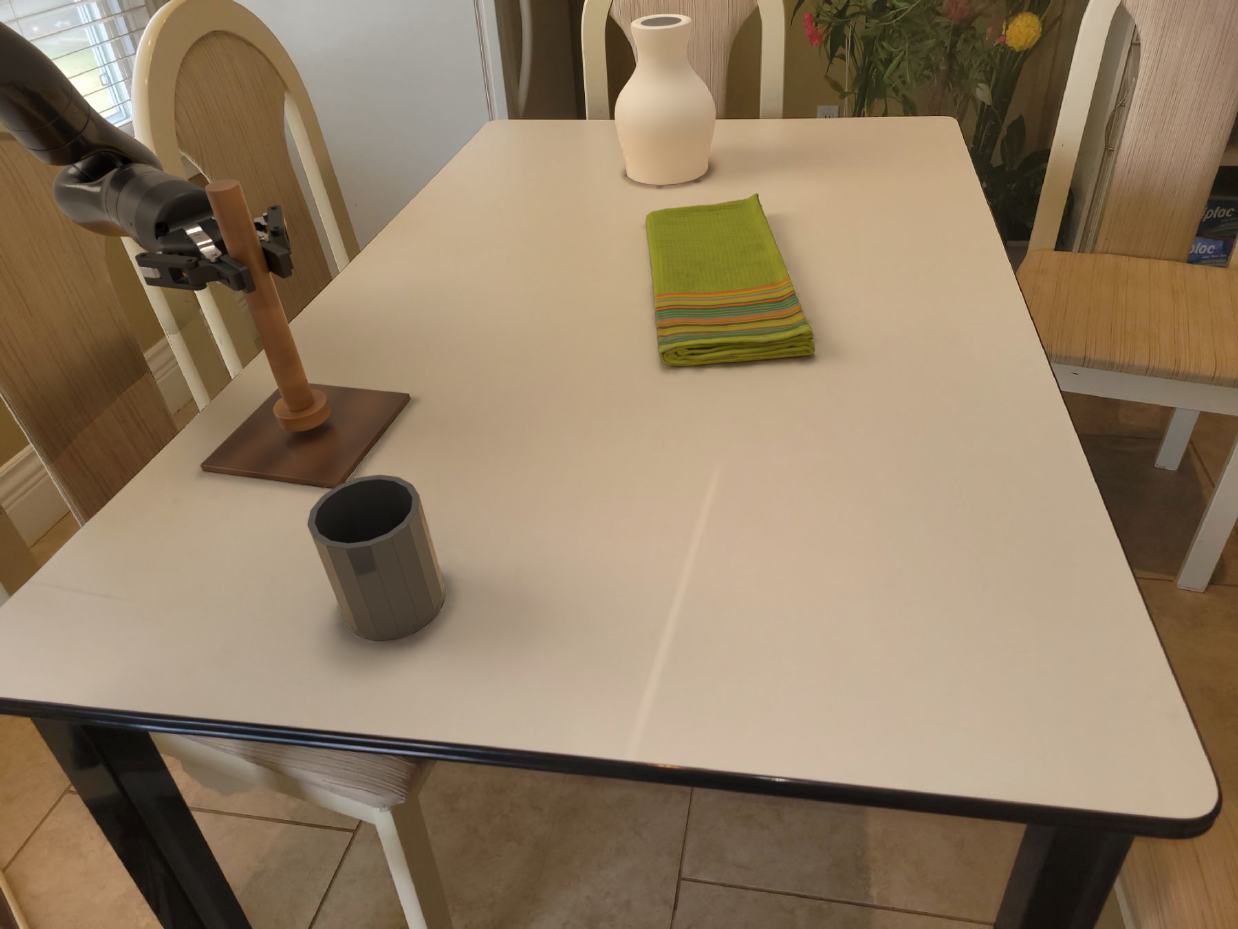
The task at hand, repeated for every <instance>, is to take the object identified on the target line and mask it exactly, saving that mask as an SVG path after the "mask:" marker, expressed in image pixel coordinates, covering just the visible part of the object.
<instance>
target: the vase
mask: <svg viewBox="0 0 1238 929" xmlns="http://www.w3.org/2000/svg"><path fill="white" fill-rule="evenodd" d="M692 29H693V21H692V18H691V17H690V16H687V15H684V14H678V13H660V14H650V15H645V16H642V17H639V18H636V19H634V20H633V21H632V22H630V31H631V35H632V38H633V41H634V43H635V44H634V45H635V47H636V50H637V62H636V65H635V69H634V71H633V73H632V74H631V76H630V78H629V79H628V81H627V82H626V84H625V85H624V86H623V88H622V89H621V90H620V93H619V94H618V97H617V99H616V102H615V106H614V123H615V129H616V134H617V137H618V141H619V145H620V148H621V151H622V155H623V158H624V163H625V172H626V176H627V177H628V178H629V179H631V180H633V181H634V182H638V183H641V184H644V185H655V186H668V185H677V184H683V183H688V182H690V181H695V180H696V179H698V178H700V177H702V176H704V175H705V174H706V172H707V171H708V169H709V158H710V151H711V148H712V142H713V138H714V134H715V128H716V127H715V126H716V120H717V114H716V113H717V111H716V110H717V109H716V104H715V100H714V97H713V95H712V93H711V92H710V90H709V88H708V86H707V84H706V83H705V82H704V81H703V79H702V78H701V77H700V76H699V75H698V74H697V72H695V70H694V68H693V67H692V66H691V64H690V62H689V58H688V46H689V41H690V38H691V34H692Z"/></svg>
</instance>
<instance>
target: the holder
mask: <svg viewBox="0 0 1238 929" xmlns="http://www.w3.org/2000/svg"><path fill="white" fill-rule="evenodd" d="M306 524H307V528H308V531H309V534H310V536H311V538H312V541H313V544H314V546H315V549H316V551H317V554H318V556H319V559H320V561H321V564H322V566H323V569H324V572H325V575H326V576H327V579H328V582H329V584H330V587H331V590H332V592H333V594H334V597H335V599H336V603H337V605H338V607H339V610H340V613H341V615H342V617H343V620H344V622H345V625H346V626H347V627H348V628H349V630H350V631H352V632H353V633H354V634H356V635H357V636H359V637H362V638H364V639H368V640H374V641H387V640H388V641H389V640H396V639H399V638H402V637H406V636H407V635H411V634H413V633H415V632H417V631H419V630H421V629H422V628H423V627H425V626H426V625H427V624H428V623H430V622H431V620H433V619H434V618H435V617H436V615H437V614H438V613H439V611H440V610H441V608H442V606H443V603H444V600H445V595H446V592H445V591H446V590H445V586H444V578H443V574H442V571H441V568H440V565H439V561H438V556H437V553H436V550H435V546H434V542H433V538H432V535H431V531H430V528H429V524H428V521H427V517H426V514H425V510H424V506H423V503H422V500H421V495H420V494H419V493H418V491H417V489H416V488H415V486H414V484H413V483H411V482H409V481H407V480H405V479H403V478H401V477H400V476H393V475H387V474H375V475H367V476H359V477H356V478H353V479H351V480H348V481H346V482H345V481H344V482H343V483H342V484H340V485H338V486H336V487H335V488H331V489H330V490H329V491H327V492H325V493H324V494H323V495H322V496H321V497H319V499H318V500H317V501H316V503H315V504H314V505H313V506H312V508H310V511H309V516H308V520H307V523H306Z"/></svg>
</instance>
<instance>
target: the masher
mask: <svg viewBox="0 0 1238 929" xmlns="http://www.w3.org/2000/svg"><path fill="white" fill-rule="evenodd" d="M204 189H205V191H206V194H207V197H208V199H209V202H210V205H211V208H212V210H213V213H214V216H215V218H216V221H217V224H218V227H219V229H220V232H221V235H222V237H223V240H224V243H225V245H226V248H227V251H228V254H229V256H230V257H232V258H234V259H236V260H237V261H239V262H241V263H243V264H244V265H246V266H247V267H248V269H249V270H250V273H251V276H252V278H253V281H254V284H255V287H256V291H253V292H251V293H248V294H247V293H245V292H243V291H242V294H243V297H244V299H245V302H246V305H247V308H248V310H249V314H250V316H251V318H252V322H253V324H254V326H255V329H256V332H257V334H258V337H259V340H260V342H261V345H262V348H263V351H264V354H265V357H266V359H267V362H268V364H269V367H270V369H271V373H272V375H273V378H274V380H275V383H276V386H277V389H279V391H280V394H281V397H282V398H281V399H279V400H278V401H277V402H276V404H275V405H274V408H273V412H274V415H275V417H276V420H277V423H278V425H279V427H280V428H282V429H283V430H286V431H290V432H300V431H306V430H309V429H312V428H315V427H317V426H319V425H320V424H322V423H323V422H325V421H326V420H327V419H328V417H329V415H330V412H331V410H330V406H329V403H328V400H327V397H326V395H325V394H324V393H323V392H321V391H319V390H315V389H310V386H309V383H310V382H309V381H308V377H307V374H306V372H305V370H304V369H305V368H304V366H303V362H302V360H301V357H300V354H299V351H298V348H297V345H296V343H295V340H294V337H293V333H292V331H291V327H290V325H289V322H288V319H287V316H286V312H285V311H284V307H283V304H282V302H281V301H282V300H281V299H280V296H279V293H278V291H277V290H278V289H277V286H276V284H275V281H274V278H273V275H272V272H271V271H270V269H269V266H268V263H267V261H266V258H265V255H264V252H263V249H262V246H261V243H260V240H259V237H258V234H257V231H256V228H255V226H254V223H253V220H252V218H253V216H252V215H251V211H250V209H249V205H248V203H247V199H246V196H245V193H244V191H243V188H242V185H241V182H240V181H239V180H238V179H237V178H236V179H235V178H224V179H218V180H215V181H213V182H210V183H208V184H206V185H205V186H204ZM251 216H252V217H251Z"/></svg>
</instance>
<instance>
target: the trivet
mask: <svg viewBox="0 0 1238 929" xmlns="http://www.w3.org/2000/svg"><path fill="white" fill-rule="evenodd" d="M308 383H309V386H310V389H315V390H319V391H321V392H323V393H324V394H325V395H326V397H327V400H328V403H329V406H330V410H331V412H330V415H329V417H328V419H327V420H326V421H325V422H323V423H322V424H320V425H319V426H317V427H315V428H312V429H309V430H306V431H300V432H290V431H286V430H283V429H282V428H280V427H279V425H278V423H277V420H276V417H275V415H274V412H273V408H274V405H275V404H276V402H277V401H278V400H279V399H281V398H282V397H281V394H280V391H279V389H278V388H276V389H275V391H273V392H272V393H271V394H270V396H268V397H267V398H266V399H265V400H264V401H263V402H262V403H261V404H260V405H259V406H258V407H257V408H256V409H255V410H254V411H253V412H252V413H251V414H250V415H249V416H248V417H247V418H246V419H245V420H244V421H243V422H242V423H241V424H240V425H239V426H238V427H237V428H236V429H234V431H233V432H232V433H231V434H230V435H229V436H228V437H226V438H225V440H223V442H221V444H220V445H219V446H218V447H216V448H215V449H214V450H213V452H212V453H210V454H209V455H208V457H207V458H205V460H203V461H202V462H201V463H200V464H199V467H200V469H201V471H205V472H214V473H221V474H228V475H236V476H241V477H250V478H257V479H265V480H271V481H272V480H273V481H279V482H280V481H281V482H285V483H286V482H287V483H293V484H302V485H307V486H309V485H310V486H316V487H324V488H331V489H333V488H335V487H336V486H338V485H340V484H342V483H345V481H346V480H347V479H348V478H349V476H350V475H351V474H352V473H353V471H354V470H355V469H356V468H357V467H358V465H359V464H360V462H361V461H362V460H363V459H364V458H365V456H366V455H367V453H368V452H369V451H370V450H372V449H371V448H372V447H373V446H374V445H375V443H377V441H378V440H379V439H380V437H381V436H382V435H383V433H384V432H385V431H386V430H387V428H389V426H390V425H391V424H392V422H394V420H395V418H397V416H398V415H399V413H400V412H401V411H402V410H403V408H404V407H405V406H406V405H407V404H408V402H409V401H410V400H411V395H410V393H408V392H399V391H387V390H380V389H379V390H378V389H369V388H359V387H349V386H340V385H332V384H331V385H329V384H321V383H311V382H308Z"/></svg>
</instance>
